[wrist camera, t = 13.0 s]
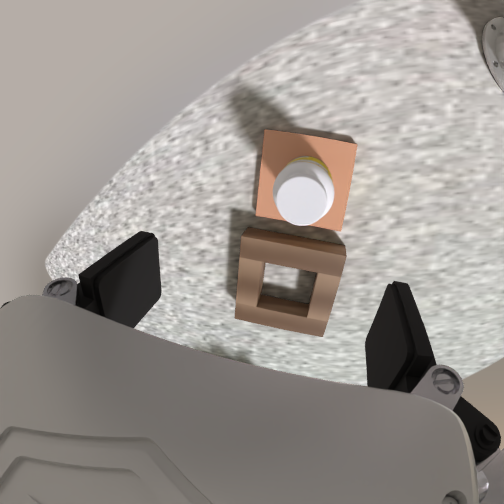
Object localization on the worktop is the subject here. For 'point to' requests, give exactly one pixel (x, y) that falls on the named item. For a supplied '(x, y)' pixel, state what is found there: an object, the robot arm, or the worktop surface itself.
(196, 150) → the worktop surface
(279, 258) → the dispenser sleeve
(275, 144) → the coaster
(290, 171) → the supplement bottle
